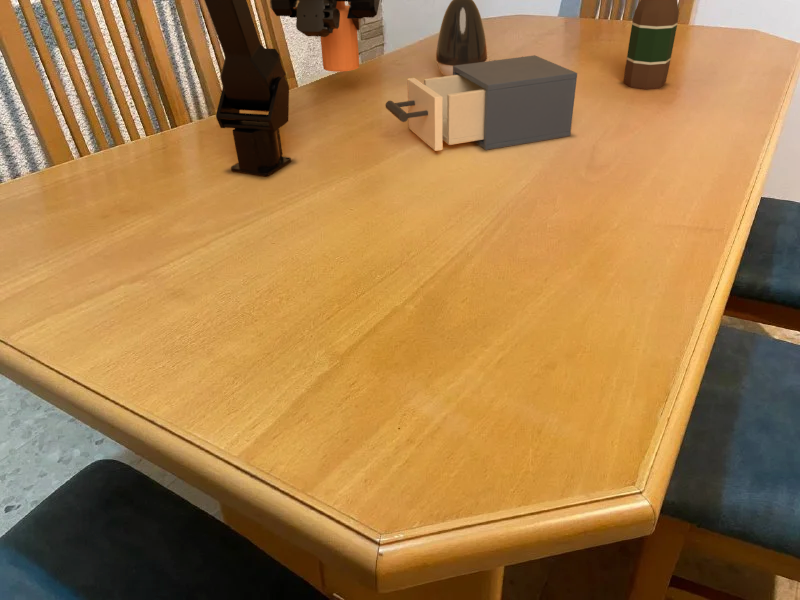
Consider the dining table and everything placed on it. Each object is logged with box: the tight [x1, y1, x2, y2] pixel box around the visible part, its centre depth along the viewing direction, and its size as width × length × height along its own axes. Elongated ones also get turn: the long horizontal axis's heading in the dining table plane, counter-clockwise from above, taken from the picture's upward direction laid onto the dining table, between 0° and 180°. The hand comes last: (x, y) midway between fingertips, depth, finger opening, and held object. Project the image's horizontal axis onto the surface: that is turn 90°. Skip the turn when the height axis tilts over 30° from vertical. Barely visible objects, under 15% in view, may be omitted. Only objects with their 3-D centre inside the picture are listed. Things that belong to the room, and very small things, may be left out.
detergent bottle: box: [319, 1, 360, 73], centre depth 114 cm, size 7×7×12 cm
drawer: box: [385, 74, 486, 152], centre depth 97 cm, size 18×11×8 cm, turn 109°
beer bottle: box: [623, 0, 680, 90], centre depth 115 cm, size 8×8×24 cm
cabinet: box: [453, 54, 578, 151], centre depth 100 cm, size 15×13×10 cm
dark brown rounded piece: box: [435, 0, 488, 76], centre depth 126 cm, size 10×10×15 cm
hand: (340, 27), depth 115 cm, fingers closed on detergent bottle, 6 cm apart
